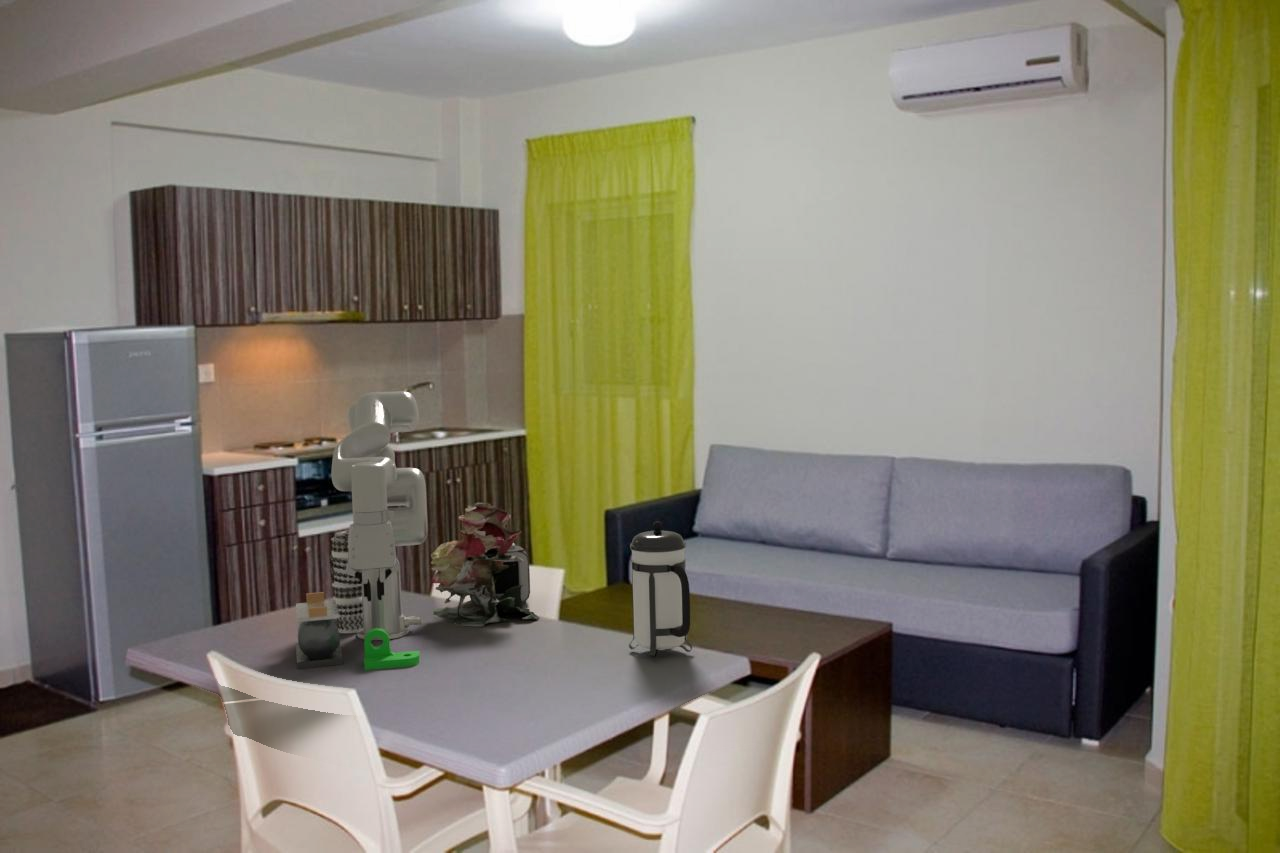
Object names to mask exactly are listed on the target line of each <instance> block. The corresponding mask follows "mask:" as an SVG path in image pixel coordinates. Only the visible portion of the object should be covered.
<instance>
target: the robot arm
mask: <svg viewBox="0 0 1280 853" xmlns="http://www.w3.org/2000/svg"><path fill="white" fill-rule="evenodd" d="M419 420H420V413H419V407H418V403H417V401H416V398H415V397H414V395H413V394H412V393H411V392H408V391H403V390H398V391H372V392H367V393H364V394H362V395H361V396H360V397H359V398H358V399H357V401H356V402H354V403H353V404H351V405H350V407H349V410H348V422H349V428H350V433H348V434H347V435H345V436H344V437H343V438H342V439H341V440H340V441H339V442H338V443H337V444H336V446H335V448H334V450H333V454H332V461H331V463H332V464H331V481H332V485H333V487H334V488H335V489H336V490H338V491H340V492H351V500H352V501H351V502H352V522H353V523H350V524H349V528H348V531H349V537H348V559H349V561H348V564H347V567H346V570H345V573H346V574H347V575H351V576H355V577H357V578H358V579H359V580H360V581H361V585H362V607H363V628H362V629H360V630H358V632H356V635H357V638H359V639H361V640H364V641H365V636H366V634H367V633H368V632H369V631H370V630H372V629H374V628H381V629H383V630H385V631H386V632H387V633H388V635H389V639H390V640H394V639H399V638H402V637H405V636H406V635H408V634H409V633H410V628H409V626H419V625H422V616H415V615H413V616H406V615H405V614H404V613H403V607H402V586H401V585H402V584H401V565H400V562H399V560H398V558H397V553H396V552H397V551H396V547H402V546H403V547H405V546H416V545H417V546H418V545H421V544H423V543H425V541H426V539H427V536H428V528H429V527H428V525H429V524H428V508H427V506H428V505H427V488H426V487H427V486H426V485H427V484H426V480H425V476H424V474H423V472H422V471H421V470H420V469H419V468H415V467H397V466H396V454H395V451H394V450H393V447H392V446H391V445H390V444H389V443H390V442H391V433H406V432H407V433H408V432H413V431H415V430H416V429H417V427H418V426H419ZM398 506H399V507H398ZM401 506H402V507H401ZM403 506H404V507H403ZM357 570H361V572H360V571H357ZM371 641H383V640H382V639H381V638H379V637H375V638H373V639H372V640H371Z"/></svg>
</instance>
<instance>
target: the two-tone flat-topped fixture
mask: <svg viewBox="0 0 1280 853" xmlns="http://www.w3.org/2000/svg"><path fill="white" fill-rule="evenodd" d="M305 595H306V602H300V603H295V610H296V621H297V623H296V629H297V642H298V644H295V655H296V668H297V670H301V669H303V670H304V669H311V668H320V667H322V668H323V667H331V666H338V665H339V666H340V665H344V656H343V651H342V647H341V642H340V641H341V640H340V639H341V638H340V633H339V631H338V627H337V622H336V619H337V618H339V613H338V609H337V605H336V601H335V600H334V599H333V600H331V599H330V600H325V592H324V591H319V592H308V593H306V594H305Z"/></svg>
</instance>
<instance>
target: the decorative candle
mask: <svg viewBox="0 0 1280 853" xmlns="http://www.w3.org/2000/svg"><path fill="white" fill-rule="evenodd" d="M348 537H349V530H342V531H341V530H340V531H337V532H336V533H334V536H333V537H331V538H330V541H331V554H330V555H329V556H328V558H329V560H330V561H329V565H330V567H331V568H330V570H329V571H330V573H331V575H330V579H331V581H332V580H333V581H332V583H331V586H332V587H333V600H335V601H336V605H337V609H338V613H339V618H337V619H336V622H337V627H338V631H339V634H355V633H356V634H357V632H358V630H360V629H362V628H363V607H362V585H361V581H360V580H359V579H358V578H357V577H355V576H351V575H347V574H346V573H345V570H346V567H347V564H348V561H349V559H348ZM357 571H360V572H361V570H357Z"/></svg>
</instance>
